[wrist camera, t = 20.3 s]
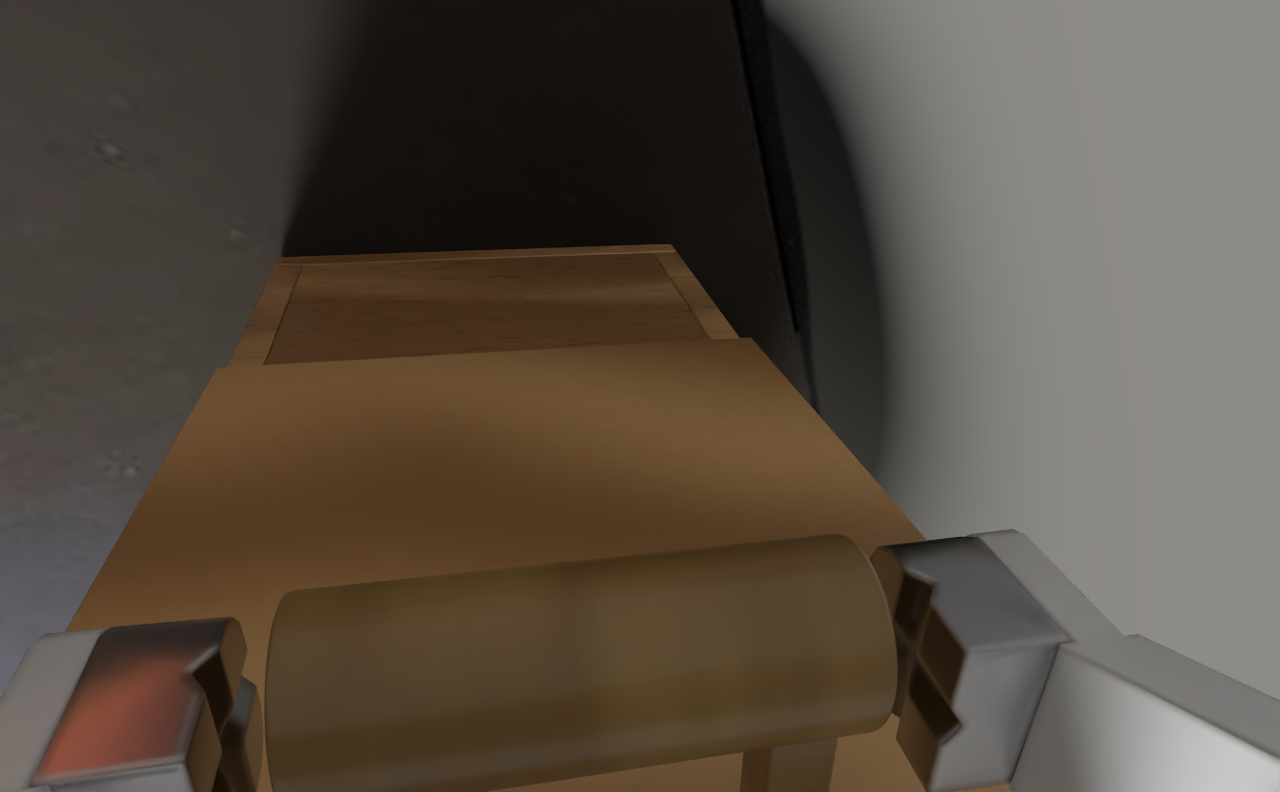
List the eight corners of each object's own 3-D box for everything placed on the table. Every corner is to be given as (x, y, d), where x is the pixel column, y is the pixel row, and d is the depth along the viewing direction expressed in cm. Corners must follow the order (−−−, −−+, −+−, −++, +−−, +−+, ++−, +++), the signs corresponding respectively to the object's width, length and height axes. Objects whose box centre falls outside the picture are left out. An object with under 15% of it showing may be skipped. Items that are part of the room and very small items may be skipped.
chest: (653, 592, 40) (704, 749, 32) (342, 627, 37) (318, 808, 30) (671, 243, 32) (745, 343, 25) (277, 256, 29) (222, 373, 22)
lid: (1296, 1039, 9) (1524, 658, 7) (-333, 1454, 6) (-832, 1038, 4) (749, 363, 24) (764, 183, 22) (222, 396, 22) (181, 195, 19)
